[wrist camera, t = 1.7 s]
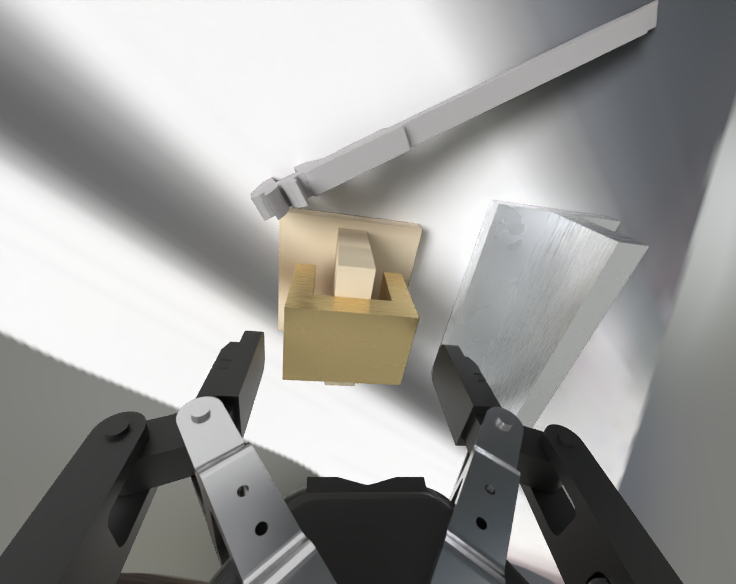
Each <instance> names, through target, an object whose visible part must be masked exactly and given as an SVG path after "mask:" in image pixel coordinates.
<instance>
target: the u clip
mask: <svg viewBox="0 0 736 584" xmlns="http://www.w3.org/2000/svg"><path fill="white" fill-rule="evenodd" d="M315 274H316V265H311V264H301V263H297V264H296V267H295V271H294V274H293V278H292V282H291V285H290V289H289V292H288V296H287V299H286V303H285V307H284V344H283V380H302V381H324V382H347V383H369V384H391V385H400V384H401V380H402V377H403V373H404V370H405V366H406V363H407V359H408V356H409V352H410V349H411V345H412V342H413V338H414V335H415V331H416V328H417V324H418V321H419V316H418V313H417V311H416V309H415V306H414V304H413V301H412V299H411V296H410V294H409V291H408V289H407V286H406V284H405V281H404V279H403V276H402V274H399V273H389V272H383V277H382V282H381V287H380V292H379V297H378V300H374V299H362V298H351V297H339V296H328V295H317V294H314V287H315Z"/></svg>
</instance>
